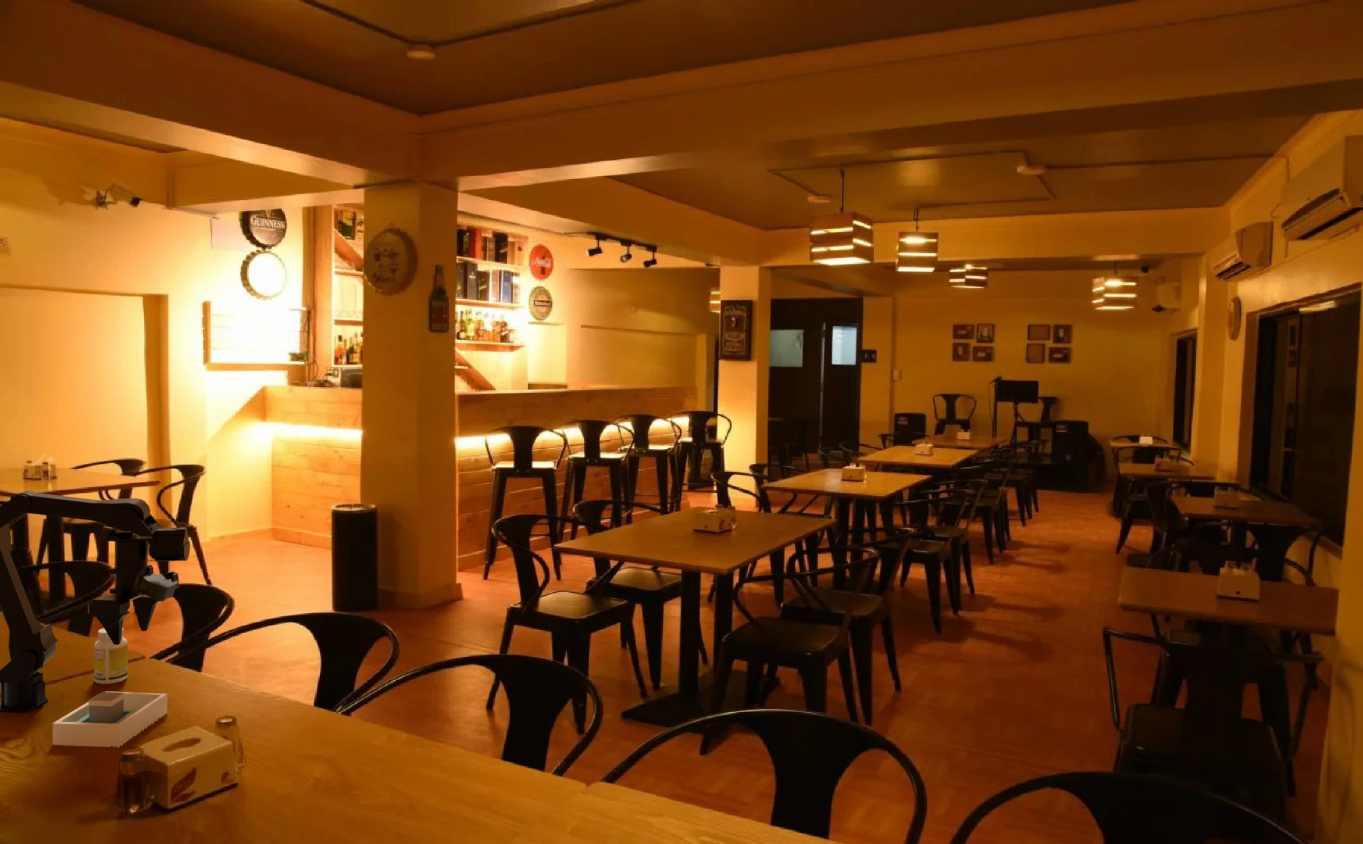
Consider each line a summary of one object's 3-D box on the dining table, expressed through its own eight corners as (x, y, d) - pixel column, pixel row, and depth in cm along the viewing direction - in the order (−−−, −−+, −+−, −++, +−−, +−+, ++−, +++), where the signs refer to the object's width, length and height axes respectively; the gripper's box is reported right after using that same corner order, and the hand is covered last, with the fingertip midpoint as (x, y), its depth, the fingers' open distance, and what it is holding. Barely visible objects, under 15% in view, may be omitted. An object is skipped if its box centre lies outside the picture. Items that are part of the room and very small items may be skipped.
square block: (88, 731, 172) (88, 699, 172) (102, 722, 176) (102, 691, 176) (110, 732, 172) (111, 700, 172) (124, 723, 176) (124, 692, 176)
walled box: (52, 745, 168) (52, 723, 168) (105, 711, 184) (105, 691, 184) (119, 747, 168) (119, 725, 168) (167, 713, 184) (167, 693, 184)
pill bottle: (130, 674, 205) (131, 624, 204) (123, 683, 199) (123, 633, 198) (98, 675, 203) (98, 626, 202) (90, 685, 197) (90, 634, 196)
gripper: (143, 574, 179) (143, 654, 180) (195, 554, 198) (194, 626, 199) (86, 571, 179) (85, 651, 180) (143, 551, 198) (142, 623, 199)
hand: (130, 637), depth 189 cm, fingers open, 9 cm apart
